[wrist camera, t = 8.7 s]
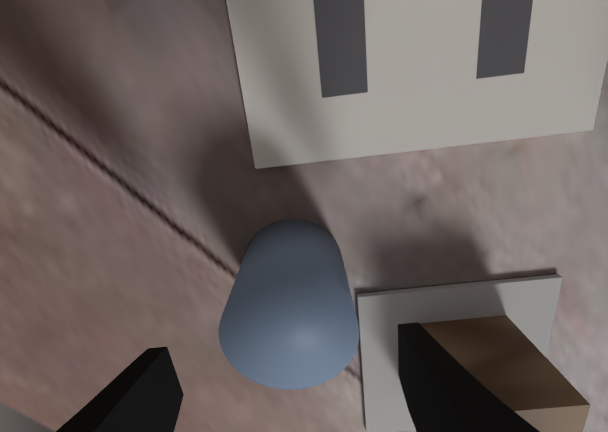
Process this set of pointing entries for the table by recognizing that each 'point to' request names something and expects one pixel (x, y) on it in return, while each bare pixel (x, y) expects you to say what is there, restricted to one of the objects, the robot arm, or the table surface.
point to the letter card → (413, 73)
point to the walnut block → (513, 371)
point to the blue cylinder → (290, 309)
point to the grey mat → (433, 308)
